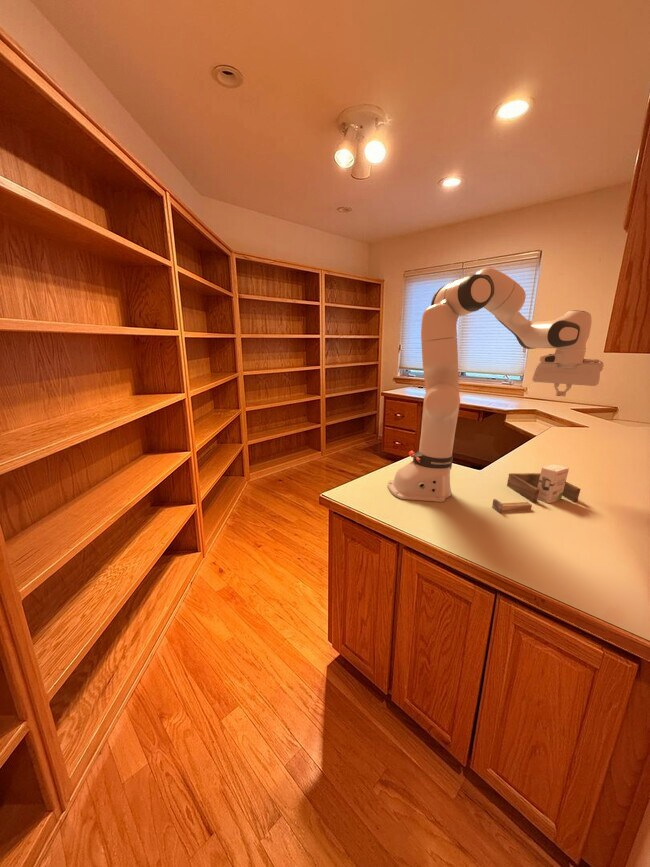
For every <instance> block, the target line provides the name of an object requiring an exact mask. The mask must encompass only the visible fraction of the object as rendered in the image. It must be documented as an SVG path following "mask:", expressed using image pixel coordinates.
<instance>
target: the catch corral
mask: <svg viewBox="0 0 650 867" xmlns="http://www.w3.org/2000/svg"><path fill="white" fill-rule="evenodd" d="M540 474H541V472H539V473H538V472H537V473H536V472H532V473H531V472H528V473H526V472H524V473H521V472H520V473H519V472H518V473H515V472H514V473H511V472H510V473H508V477H507V481H506V482H507V483H506V487H508V488H509V489H510V490H513V491H514V492H516V494H517V493H518V494H519V495H521V496H522V497H523V498H525V499H526V500H528V501H529V502H531V504H532V503H533V504H536V503H537V502H538V499H537V498H538V493H539V489H538V483H539V478H540ZM580 493H581V488H579V487H578V486H575V485H573V484H572V483H569V482H567V481H566V482H565V486H564V490H563V494H562V497H563V498H565V499H567V500H569V501H571V502H573V503H578V501H579V497H580Z"/></svg>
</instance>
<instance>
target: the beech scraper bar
mask: <svg viewBox="0 0 650 867" xmlns="http://www.w3.org/2000/svg"><path fill="white" fill-rule="evenodd" d="M532 507H533V504H532V503H530V502H528V501H524V502H523V501H522V502H521V501H520V502H519V501H518V502H503V503H502V502H501V501H499V500H498V499H497V498H493V500H492V505H491V509H493V510H495V511H496V512H497V513H498V514H502V512H506V513H507V512H521V511H522V512H523V511H524V512H525V511H532Z"/></svg>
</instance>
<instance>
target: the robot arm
mask: <svg viewBox="0 0 650 867" xmlns="http://www.w3.org/2000/svg"><path fill="white" fill-rule="evenodd" d="M526 295H527V294H526V290H524V288H523V286H521V285H520V283H519V282H517V281H515V279H513V278H512V277H510V276H509V275H507V274H505V273H503V272H502V271H499V270H498V269H496V268H492V267H483V268H481V269H479V270H478V271H477V272H476V273H474V274H470V275H467V276H464V277H462V278H459V279H456V280H455V279H454V280H453V281H452V282H448V283H447V284H446V285H443V286H441V287H440V288H439V289H437V291H436V292H435V293H434V294H433V296H432V298H431V303H430V304H431V305H430V306H428V307H427V308H425V310H424V311H423V313H422V316H421V329H420V341H421V344H420V345H421V358H422V359H421V360H422V369H423V377H424V378H423V379H424V388H425V394H424V396H423V397H424V398H423V404H422V405H423V406H422V414H421V415H422V416H421V429H420V432H421V433H420V440H419V448H418V450H417V452H414V451H413V450H410V451H409V452H408V455H409V457H411V458H412V461H409V463H407V464H405V465H404V466H402V467H400V468H399V469H397V471H396V473H395V476H394V479H392V480H389V481H388V482H387V489H388V490H389V492H390V493H391V494H392V496H394V497H396V498H398V499H400V500H409V501H410V500H411V501H412V500H413V501H425V502H438V503H439V502H440V503H443V502H445V500H446V499H448V498H449V497H451V495H452V488H451V487H452V486H451V470H452V467H453V459H454V456H453V449H454V442H455V434H456V428H457V423H458V417H459V412H460V406H461V397H460V387H459V386H460V383H459V382H460V381H459V378H460V377H459V355H458V354H459V351H458V349H459V348H458V333H457V332H458V331H457V323H458V318H459V317H462V316H466V315H468V314H471V313H473V312H478V311H480V310H481V309H483V308H484V309H485V310H486V311H488V312H489V313H490V314H492V315H493V316H494V317H495V319H496V320H497V321H498V322H499V323H501V325H503V326H504V328H506V329H507V330H508V331H510V332H511V333H512V334H513V336H514V337H515V338H516V340H517V342H518V344H519V345H520V347H522V348H524V349H527V350H532V349H555V352H554V353H550V354H549V353H548V354H547V355H543V356H541V357H539V363H537V364H536V366H535V368H534V371H533V373H532V377H531V381H532V382H534V383H544V384H546V383H547V384H553V387H554V389H555V396H556V397H566V395H567V392H568V391H569V390H570V389H571V388H572V385H573V386H588V387H596V386H598V385H599V384H600V378H601V372H602V371H603V369H604V362H603V361H601V360H600V359H597V358H594V359H591V358H590V359H589V358H585V356H586V350H587V347H586V345H587V342H588V340H589V338H590V334H591V328H592V315H591V313H590V312H587V311H585V310H569V311H566V312H565V314H564V315H562V316H560V317H557V318H554V319H551V320H542V321H541V320H540V321H537V320H535V321H534V320H529V319H528V318H526V317H525V316H524V315H523V314H522V313H520V310H521V309H522V308H523V306H524V304H525V301H526V297H527V296H526ZM560 385H565V387H566V388H565V389H564V390H562V391H561V390H559V388H558V387H560Z"/></svg>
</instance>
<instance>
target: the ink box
mask: <svg viewBox="0 0 650 867" xmlns="http://www.w3.org/2000/svg"><path fill="white" fill-rule="evenodd" d="M569 469H570V468H568V467H567V466H564V465H559V464H555V463H553V464H550V465H547V466H543V467H541V471H540V473H541V474H540V478H539V483H538V487H537V488H538V489H539V493H538V498H537V500H538V501H539V500H540V501H541V502H544V503H547V504H552V503H554V502H556V501H559V500H562V498H563V496H562V494H563V490H564V486H565V482H567V478H568V473H569V471H570V470H569Z"/></svg>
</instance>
